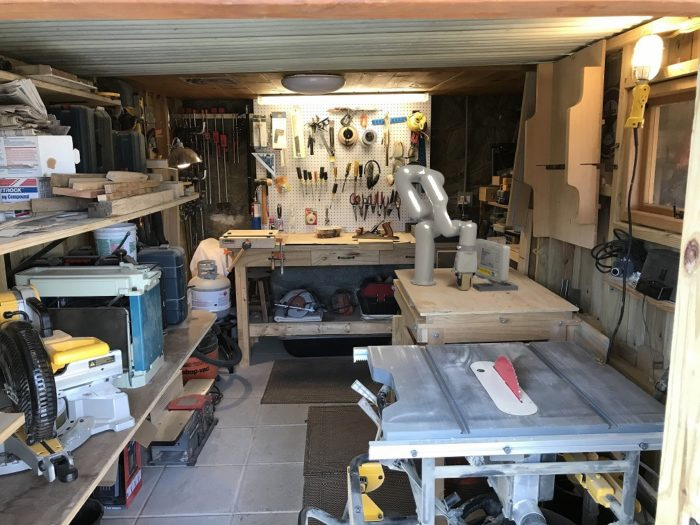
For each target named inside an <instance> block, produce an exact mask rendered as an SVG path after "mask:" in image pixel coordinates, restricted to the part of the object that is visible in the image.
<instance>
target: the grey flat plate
mask: <svg viewBox="0 0 700 525" xmlns="http://www.w3.org/2000/svg"><path fill="white" fill-rule="evenodd" d="M474 288H475V290H476V289H477V291H478V290H479V291H478V292H499V291H501V292H502V291H503V292H504V291H519V285H516V284H515V283H513V282H509V281H507V282H502V283H500V282H490V283H485V282H481V283H480V282H479V283H478V282H477V283H476V282H474V283H472V289H474Z"/></svg>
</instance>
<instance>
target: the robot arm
mask: <svg viewBox="0 0 700 525" xmlns="http://www.w3.org/2000/svg"><path fill="white" fill-rule="evenodd" d="M393 180H394V187H395V189H396V191H397V193H398V195H399V197H400V199H401V201H402V203H403V206H404V208H405V209H406V212H407V214H408V215H409V218H411V219H412V220H414V221H416V220H417V221H419V220H420V221H419V222H418V223H417V224H416V226H415V227H414V238H415V239H414V240H415V249H414V250H415V253H414V271H413V272H414V274H413V278H412V279H410V282H411V284H412V285H413V284H414V285H417V286H425V287H426V286H434V285H436V284H437V280H436V279H434V270H435V253H436V252H435V251H436V247H435V245H436V244H435V238H437V237H440V236H441V235H442V236H444V237H445V238H451V237H455V236H459V241H458V242H459V243H458V245H456V247H455V248H456V250H457V252H456V254H455V258H454V263H453V264H454V265H453V267H452V269H451V270H450V272H451V274H454V275H455V276H456V285H457V287H458V286H459V287H461V281H462V279H461V275H462V273H470V285H469V287H471V285H472V279H474V278H473V276H476V275H477V274H476V273H478V272H479V270H478V268H477V252H476V251H475V244H476V239H477V233H478V232H477V230H478V225H477V223H475V222H472V221H462V220H460V219H453V220H452V219H451V218H450V216H449V214H448V210H447V204H448V201H449V197H448V194H447V193H446V190H445V189H444V187H443V186H444V184H445V177H444V175H443V173H442V172H440V171H438V170H434V169H431V168H428V167H426V166H423V165H420V164H405V165H402V166H400V167H399V168H398V169H397V171H396V172H395V174H394V179H393ZM412 183H418V184H421V187H422V189H423V190H424V193H425V194H426V196H427V198H428V200H427V199H421V197H420V195H419V193H418V191H417V190H416V188H415V187H414V185H413V184H412Z"/></svg>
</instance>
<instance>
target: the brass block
mask: <svg viewBox="0 0 700 525" xmlns="http://www.w3.org/2000/svg"><path fill="white" fill-rule="evenodd" d="M461 279H462V281H461V287H459V286H458V285H457V288H458V289H459V290H460V291H470V286H471V284H470V273H462V275H461ZM469 285H470V286H469Z"/></svg>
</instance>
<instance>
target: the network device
mask: <svg viewBox="0 0 700 525" xmlns="http://www.w3.org/2000/svg"><path fill="white" fill-rule="evenodd" d="M475 251H476V252H477V268H478V270H479V272H478V273H476V274H475V275H474V276H473V278H472V279H474V278H476V279H475V280H477V279H478V280H477V281H480V280H481V281H480V282H482V281H483V282H482V283H491V282H497V283H502V282H508V281H509V269H510V260H511V259H510V256H511V247H510V246H509V245H506V244H503V243H498V242H495V241H491V240H486V239H483V238H476V244H475Z"/></svg>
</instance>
